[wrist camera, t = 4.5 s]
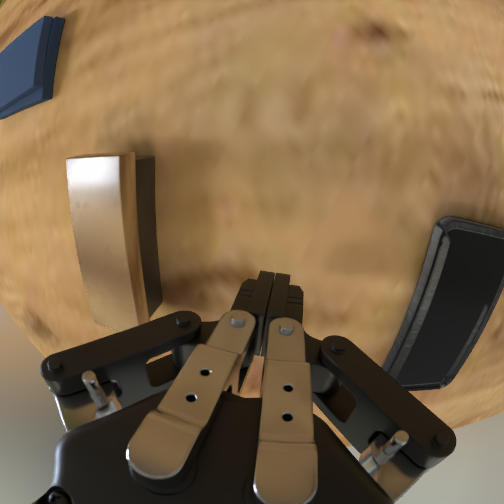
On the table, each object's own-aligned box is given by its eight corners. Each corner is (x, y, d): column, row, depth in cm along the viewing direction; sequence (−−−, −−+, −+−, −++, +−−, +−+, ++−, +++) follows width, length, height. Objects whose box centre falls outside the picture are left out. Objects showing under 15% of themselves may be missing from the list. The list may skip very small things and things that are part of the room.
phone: (376, 391, 19) (444, 218, 13) (374, 382, 20) (437, 213, 14) (447, 388, 18) (521, 237, 11) (444, 379, 19) (513, 232, 12)
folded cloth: (12, 51, 13) (-4, 51, 11) (65, 17, 11) (48, 13, 9) (3, 119, 16) (-13, 121, 14) (52, 98, 15) (32, 99, 13)
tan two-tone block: (105, 149, 16) (65, 158, 12) (158, 148, 15) (120, 154, 12) (121, 296, 21) (94, 323, 17) (165, 307, 20) (142, 339, 17)
